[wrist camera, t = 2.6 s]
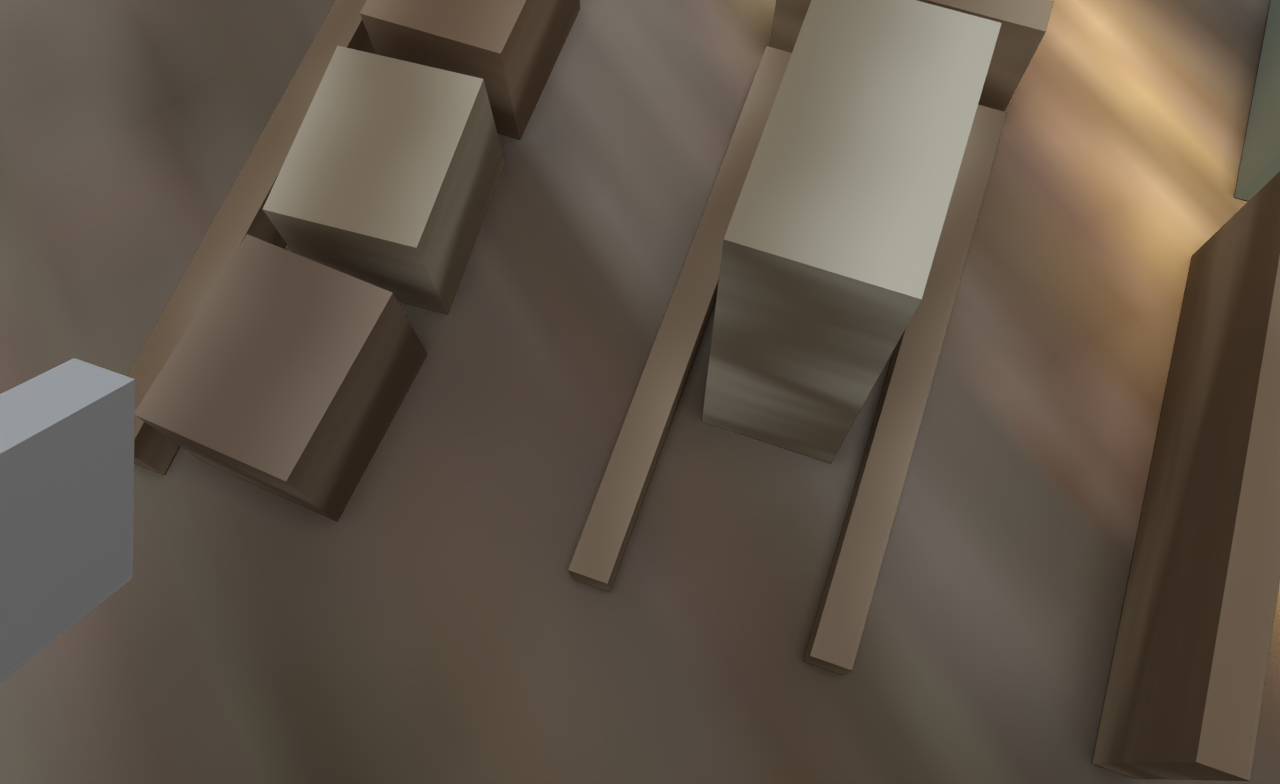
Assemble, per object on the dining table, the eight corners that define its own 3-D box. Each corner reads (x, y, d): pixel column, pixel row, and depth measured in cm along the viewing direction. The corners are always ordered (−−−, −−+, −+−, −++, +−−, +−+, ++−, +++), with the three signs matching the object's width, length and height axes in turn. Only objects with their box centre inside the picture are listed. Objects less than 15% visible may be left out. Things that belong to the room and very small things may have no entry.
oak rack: (1248, 162, 30) (1358, 48, 25) (1127, 822, 24) (1241, 835, 19) (415, -67, 33) (374, -205, 28) (130, 462, 27) (19, 398, 22)
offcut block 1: (580, 10, 32) (569, -90, 28) (520, 142, 31) (500, 53, 27) (461, -23, 33) (435, -126, 29) (396, 105, 31) (359, 13, 27)
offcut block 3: (428, 356, 28) (392, 292, 24) (338, 522, 27) (286, 481, 23) (300, 304, 29) (246, 233, 25) (205, 463, 27) (133, 414, 24)
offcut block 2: (505, 164, 30) (483, 78, 27) (448, 316, 29) (416, 247, 25) (377, 134, 31) (337, 45, 27) (313, 281, 29) (262, 209, 25)
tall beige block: (890, 266, 29) (1001, 22, 19) (830, 463, 27) (922, 299, 18) (769, 230, 29) (820, -26, 20) (701, 421, 27) (723, 239, 18)
